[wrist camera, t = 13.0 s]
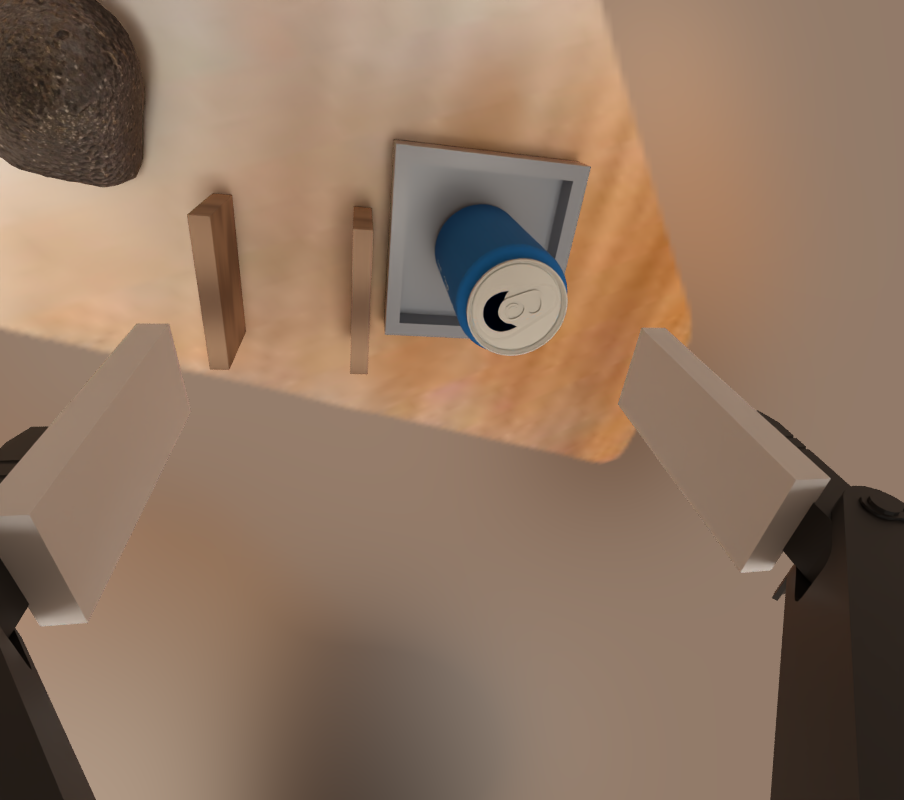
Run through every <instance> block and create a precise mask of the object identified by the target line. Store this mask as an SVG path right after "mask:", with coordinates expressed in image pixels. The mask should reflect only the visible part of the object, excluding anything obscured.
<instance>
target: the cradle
mask: <svg viewBox="0 0 904 800" xmlns="http://www.w3.org/2000/svg"><path fill="white" fill-rule="evenodd" d="M187 217H188V224H189V231H190V237H191V244H192V251H193V258H194V265H195V271H196V278H197V285H198V292H199V298H200V305H201V312H202V319H203V326H204V332H205V339H206V346H207V353H208V359H209V366H210V369H214V370H229V369H230V367H231V364H232V362H233V360H234V358H235V355H236V353H237V351H238V348H239V346H240V344H241V342H242V339H243V337H244V335H245V332H246V329H245V319H244V309H243V299H242V289H241V279H240V270H239V260H238V250H237V240H236V230H235V220H234V210H233V200H232V195H225V194H214V193H213V194H211V195H210V196H209V197H208V198H207V199H205V200H204V201H203V202H202V203H201V204H199V205H198V206H197V207H196V208H195V209H193V210H192V211H191V212H190V213H189V214H187ZM372 248H373V222H372V209H371V208H364V207H354V218H353V254H352V308H351V361H350V374H368V350H369V325H370V299H371V274H372Z"/></svg>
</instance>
